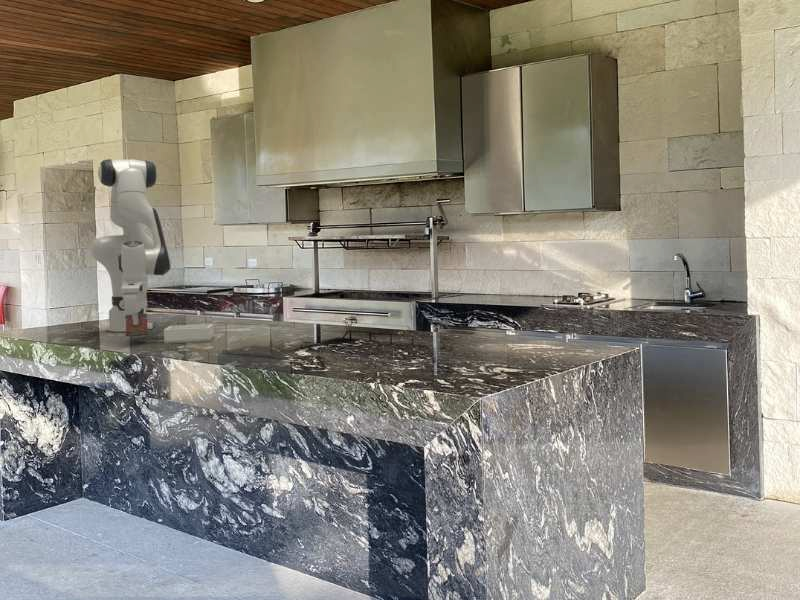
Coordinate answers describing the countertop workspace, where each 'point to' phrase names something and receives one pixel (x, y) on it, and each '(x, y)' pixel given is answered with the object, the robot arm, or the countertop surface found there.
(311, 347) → the countertop surface
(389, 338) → the countertop surface
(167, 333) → the tray
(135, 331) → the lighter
